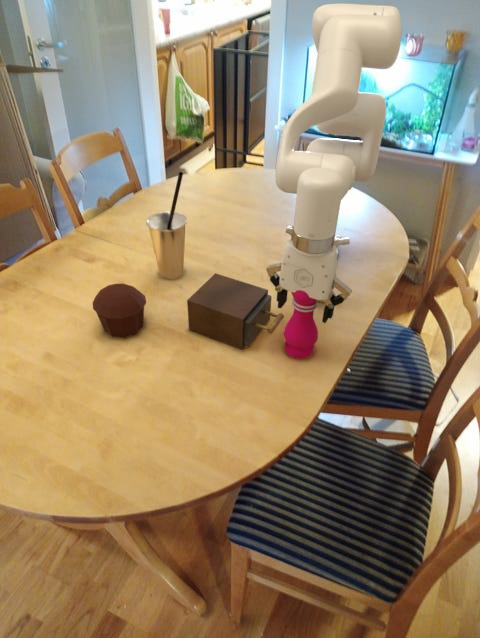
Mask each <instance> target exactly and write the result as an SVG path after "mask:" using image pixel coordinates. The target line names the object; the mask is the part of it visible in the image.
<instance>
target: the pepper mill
mask: <svg viewBox="0 0 480 638" xmlns="http://www.w3.org/2000/svg"><path fill="white" fill-rule="evenodd" d="M290 293H291V296H292V302H291V305H292V307H293V313H292V314H291V316H290V318H289V320H288V321H287V323H286V325H285V326H284V330H283V338H284V351H285V353H286V354H287V356H289V357H290V358H292V359H297V360H304V359H308V358H310V357H311V356H312V355H313V353H314V350H315V344H316V343H317V341H318V338H319V330H318V326H317V324H316V321H315V319H314V312H315V310H316V309H317V308H318V304H319V302H318V300H316V299H313V298H310V297H309V295H308V294H307V293H306V292H304V291H302V290H297V291H296V292H295V293H294V292H291V291H290Z"/></svg>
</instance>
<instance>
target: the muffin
mask: <svg viewBox="0 0 480 638" xmlns="http://www.w3.org/2000/svg"><path fill="white" fill-rule="evenodd" d="M146 305H147V299H146V295H145V294H144V293H143V292H141V291H140V290H138V289H137V288H136V287H135V286H133V285H129V284H127V283H113V284H108V285H106V286H105V287H103V288H101V289H100V290H99V291H98V292H97V294H96V295H95V297H94V299H93V301H92V310H93V311H94V312H95V313H96V315H97V317H98V319H99V322H100V324H101V326H102V328H103V331H104V332H105V333H106V334H108V335H109V336H111V338H121V339H126V338H128V337H130V336H135V335H137V334H138V333H139V332H140V331H141V330H142V329H143V328H144V318H145V317H144V316H145V306H146Z"/></svg>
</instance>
